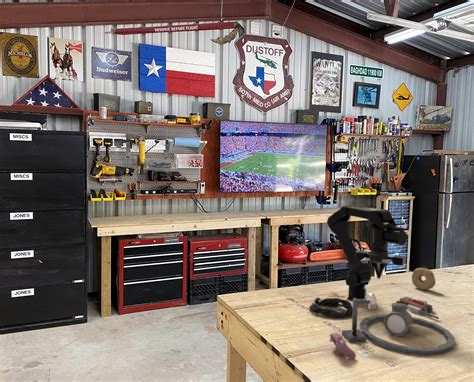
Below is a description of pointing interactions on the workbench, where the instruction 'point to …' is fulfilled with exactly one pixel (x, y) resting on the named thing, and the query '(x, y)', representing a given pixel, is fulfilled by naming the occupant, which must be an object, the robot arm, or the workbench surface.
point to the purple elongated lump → (342, 345)
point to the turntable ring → (405, 349)
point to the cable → (331, 303)
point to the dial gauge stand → (355, 334)
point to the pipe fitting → (398, 320)
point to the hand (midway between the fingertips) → (378, 278)
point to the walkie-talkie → (417, 306)
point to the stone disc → (419, 282)
